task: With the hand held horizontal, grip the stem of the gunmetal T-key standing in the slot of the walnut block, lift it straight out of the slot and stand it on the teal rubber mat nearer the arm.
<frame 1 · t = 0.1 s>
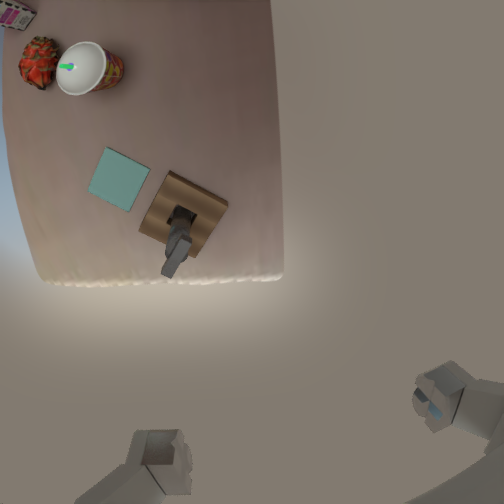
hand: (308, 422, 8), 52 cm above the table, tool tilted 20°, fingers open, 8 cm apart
candy bar box: (19, 13, 29), on the table
dragon fruit: (48, 63, 38), on the table
teal rubber mat: (117, 179, 53), on the table
smoothie: (108, 72, 42), on the table
walnut key-slot block: (182, 212, 59), on the table
gunmetal T-key: (179, 232, 51), in the walnut key-slot block
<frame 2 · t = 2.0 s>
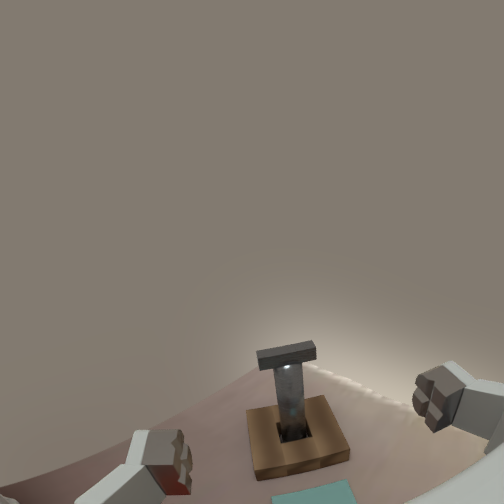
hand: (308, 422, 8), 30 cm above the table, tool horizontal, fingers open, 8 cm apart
walnut key-slot block: (294, 441, 38), on the table
gunmetal T-key: (291, 402, 36), in the walnut key-slot block
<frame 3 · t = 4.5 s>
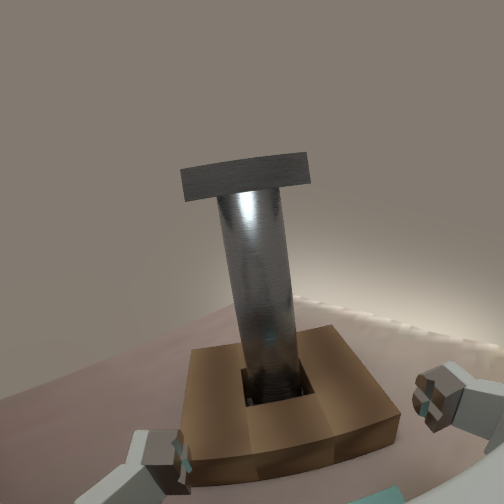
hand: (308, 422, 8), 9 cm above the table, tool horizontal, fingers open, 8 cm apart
walnut key-slot block: (278, 409, 20), on the table
gunmetal T-key: (264, 306, 18), in the walnut key-slot block
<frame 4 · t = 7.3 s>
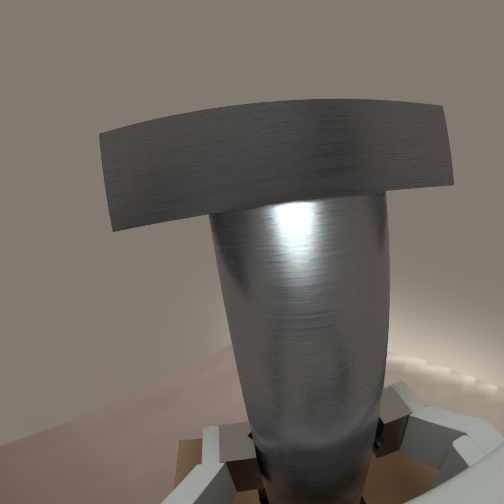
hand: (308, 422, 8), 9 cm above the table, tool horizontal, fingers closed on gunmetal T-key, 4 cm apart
gunmetal T-key: (315, 442, 8), in the walnut key-slot block, touching gripper
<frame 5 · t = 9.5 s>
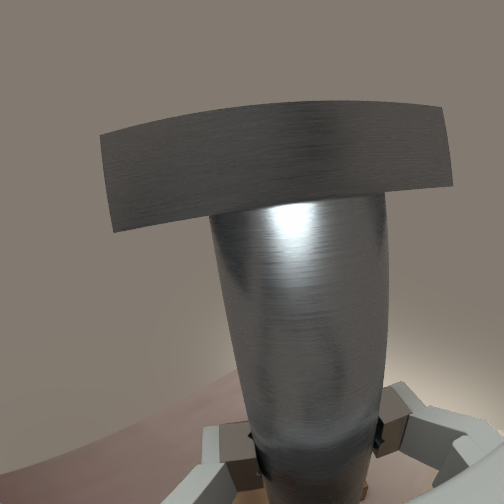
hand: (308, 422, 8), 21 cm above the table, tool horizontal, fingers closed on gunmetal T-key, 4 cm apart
walnut key-slot block: (286, 471, 25), on the table
gunmetal T-key: (315, 442, 8), point 21 cm above the table, touching gripper
when the fingers open (10 cm above the table, at t = 12.0 s): gunmetal T-key stays where it is, resting on teal rubber mat.
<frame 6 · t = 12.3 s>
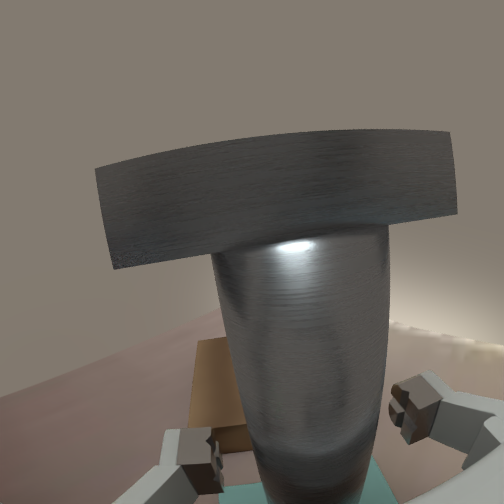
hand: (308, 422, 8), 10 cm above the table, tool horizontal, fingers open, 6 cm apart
walnut key-slot block: (273, 391, 24), on the table
gunmetal T-key: (314, 456, 8), on the teal rubber mat
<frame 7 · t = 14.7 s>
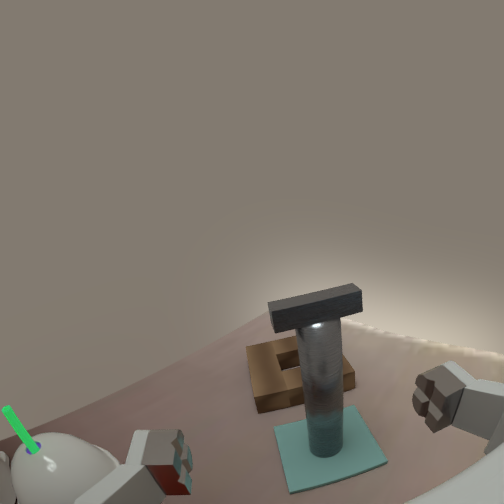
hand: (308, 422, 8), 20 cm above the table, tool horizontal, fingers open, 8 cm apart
teal rubber mat: (326, 447, 26), on the table
walnut key-slot block: (296, 375, 41), on the table
gunmetal T-key: (323, 386, 24), on the teal rubber mat
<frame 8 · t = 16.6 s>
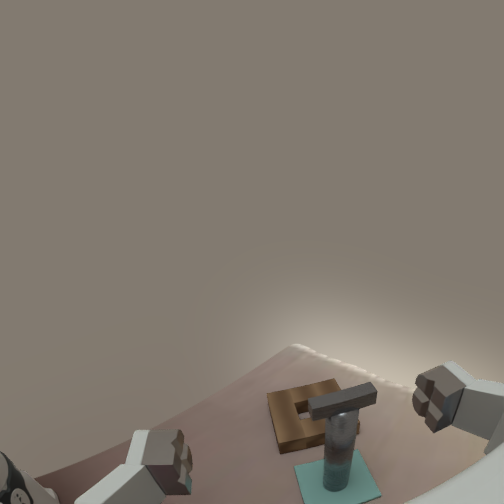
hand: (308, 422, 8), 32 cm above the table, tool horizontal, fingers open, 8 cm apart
teal rubber mat: (335, 483, 31), on the table
walnut key-slot block: (310, 419, 45), on the table
gunmetal T-key: (339, 447, 28), on the teal rubber mat
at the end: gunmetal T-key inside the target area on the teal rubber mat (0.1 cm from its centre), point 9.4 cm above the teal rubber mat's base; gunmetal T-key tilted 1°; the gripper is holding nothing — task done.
